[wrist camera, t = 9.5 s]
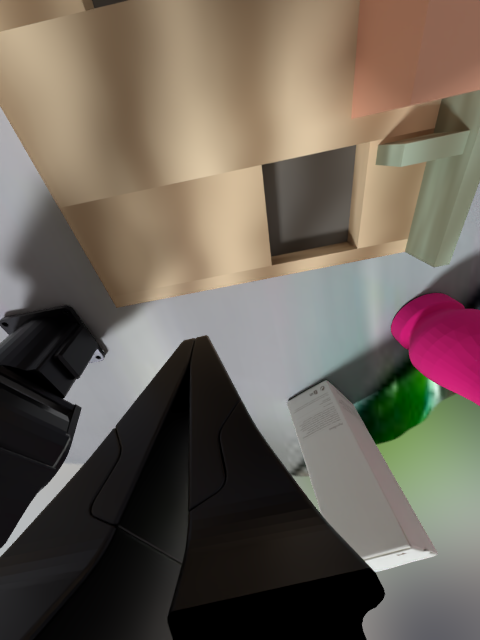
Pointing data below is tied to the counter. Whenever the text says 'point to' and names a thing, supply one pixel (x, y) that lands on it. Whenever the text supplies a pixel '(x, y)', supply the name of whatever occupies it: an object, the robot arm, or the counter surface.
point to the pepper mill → (442, 342)
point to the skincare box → (355, 481)
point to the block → (414, 53)
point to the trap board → (227, 141)
